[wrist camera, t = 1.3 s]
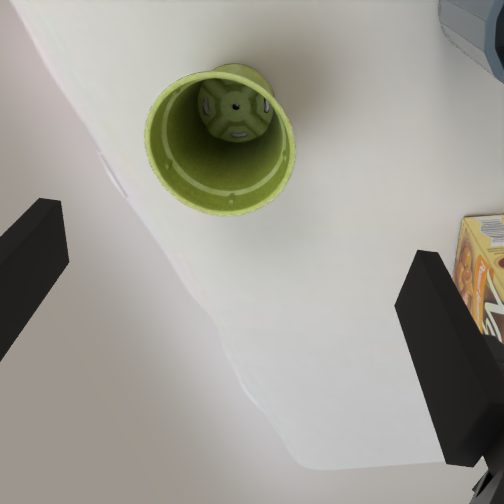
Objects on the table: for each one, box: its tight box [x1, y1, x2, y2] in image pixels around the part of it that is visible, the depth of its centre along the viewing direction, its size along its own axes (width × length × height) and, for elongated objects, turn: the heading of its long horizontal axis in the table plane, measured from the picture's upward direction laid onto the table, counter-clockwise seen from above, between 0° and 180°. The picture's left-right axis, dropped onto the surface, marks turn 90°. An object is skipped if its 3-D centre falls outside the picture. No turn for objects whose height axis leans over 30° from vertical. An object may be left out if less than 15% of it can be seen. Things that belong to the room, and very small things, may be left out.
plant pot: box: [144, 64, 296, 216], centre depth 30 cm, size 9×9×9 cm
